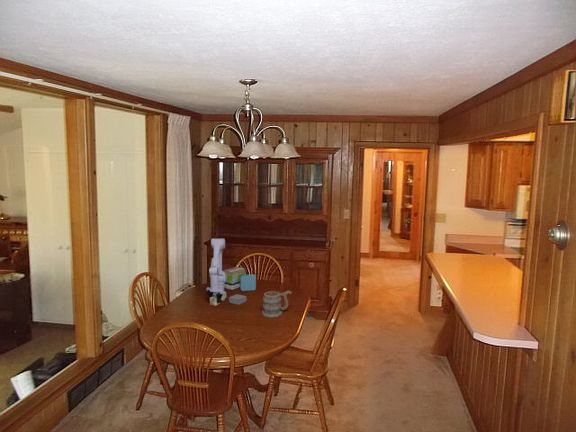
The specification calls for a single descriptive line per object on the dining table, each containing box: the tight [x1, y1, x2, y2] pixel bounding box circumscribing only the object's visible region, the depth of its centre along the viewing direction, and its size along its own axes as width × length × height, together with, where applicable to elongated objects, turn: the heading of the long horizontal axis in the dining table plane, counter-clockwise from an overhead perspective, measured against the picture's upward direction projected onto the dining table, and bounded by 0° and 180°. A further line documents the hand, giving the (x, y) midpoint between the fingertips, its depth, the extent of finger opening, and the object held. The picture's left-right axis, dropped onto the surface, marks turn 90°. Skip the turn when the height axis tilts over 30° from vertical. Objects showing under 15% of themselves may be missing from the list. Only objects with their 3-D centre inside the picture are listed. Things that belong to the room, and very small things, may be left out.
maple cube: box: [209, 295, 221, 306], centre depth 295 cm, size 5×5×5 cm
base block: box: [228, 293, 247, 305], centre depth 300 cm, size 9×9×4 cm
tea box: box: [223, 266, 246, 291], centre depth 335 cm, size 15×10×15 cm
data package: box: [239, 273, 257, 292], centre depth 328 cm, size 12×4×12 cm, turn 101°
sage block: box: [217, 290, 227, 301], centre depth 306 cm, size 5×5×5 cm
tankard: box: [261, 290, 293, 318], centre depth 277 cm, size 20×13×15 cm, turn 105°
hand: (215, 301), depth 295 cm, fingers open, 7 cm apart
